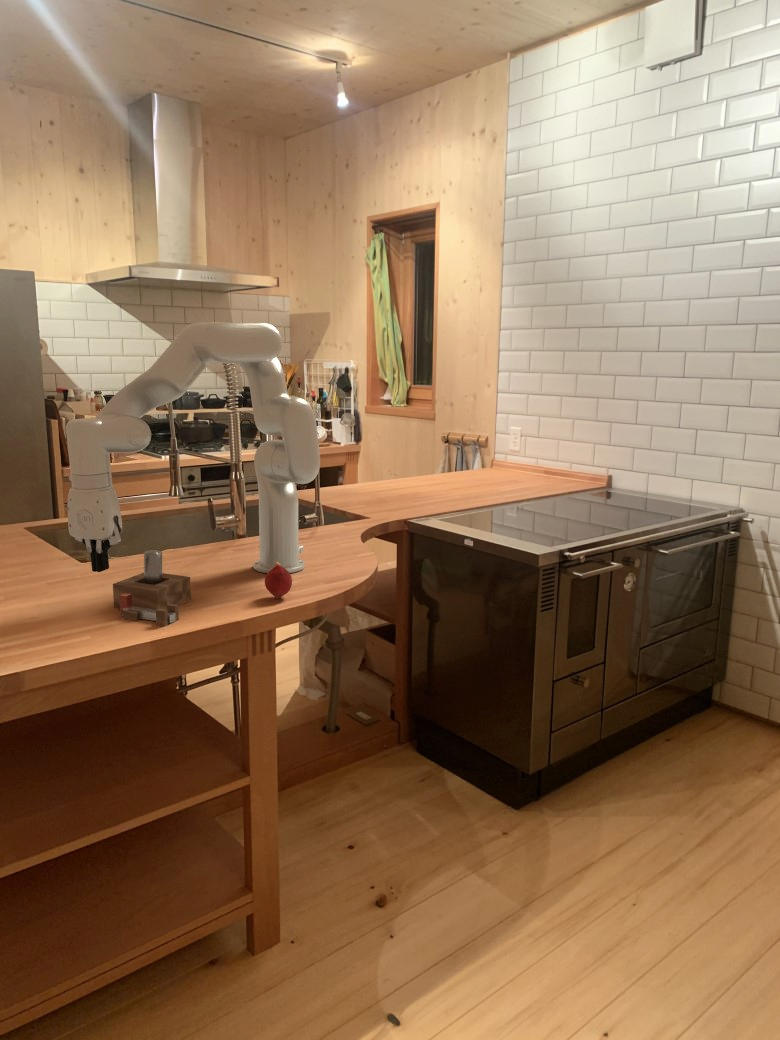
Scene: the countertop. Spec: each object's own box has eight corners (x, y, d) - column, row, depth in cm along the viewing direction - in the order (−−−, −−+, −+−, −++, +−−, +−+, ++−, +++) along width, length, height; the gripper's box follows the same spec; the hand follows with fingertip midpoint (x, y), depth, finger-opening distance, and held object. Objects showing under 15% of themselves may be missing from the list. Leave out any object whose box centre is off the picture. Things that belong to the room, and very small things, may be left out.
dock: (148, 593, 168) (147, 571, 167) (212, 602, 163) (212, 579, 162) (96, 614, 154) (94, 590, 153) (164, 626, 148) (163, 601, 147)
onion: (293, 594, 170) (293, 559, 168) (290, 602, 164) (290, 566, 162) (266, 594, 169) (266, 558, 168) (263, 602, 164) (263, 565, 162)
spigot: (150, 594, 163) (150, 549, 161) (165, 596, 163) (165, 551, 160) (141, 599, 160) (140, 553, 158) (156, 602, 159) (156, 555, 157)
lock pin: (126, 612, 155) (125, 593, 154) (175, 620, 151) (174, 600, 150) (120, 615, 153) (119, 595, 152) (169, 623, 149) (169, 603, 148)
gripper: (48, 482, 152) (58, 571, 156) (109, 487, 146) (118, 579, 151) (75, 476, 159) (84, 561, 163) (135, 480, 153) (142, 568, 158)
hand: (100, 569), depth 157 cm, fingers closed
